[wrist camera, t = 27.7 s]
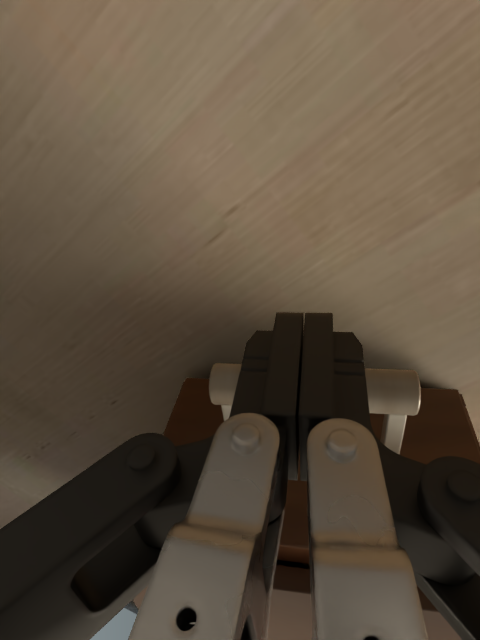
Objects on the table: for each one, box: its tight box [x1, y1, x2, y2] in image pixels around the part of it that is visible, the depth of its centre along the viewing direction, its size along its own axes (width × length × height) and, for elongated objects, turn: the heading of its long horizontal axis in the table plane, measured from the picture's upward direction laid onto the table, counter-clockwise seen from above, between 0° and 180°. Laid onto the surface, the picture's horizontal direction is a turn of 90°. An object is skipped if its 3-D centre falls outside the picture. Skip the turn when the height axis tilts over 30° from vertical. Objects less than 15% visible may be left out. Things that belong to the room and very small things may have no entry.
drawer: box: [164, 363, 480, 569], centre depth 20 cm, size 20×13×8 cm, turn 6°
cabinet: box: [133, 382, 480, 640], centre depth 22 cm, size 16×14×10 cm
